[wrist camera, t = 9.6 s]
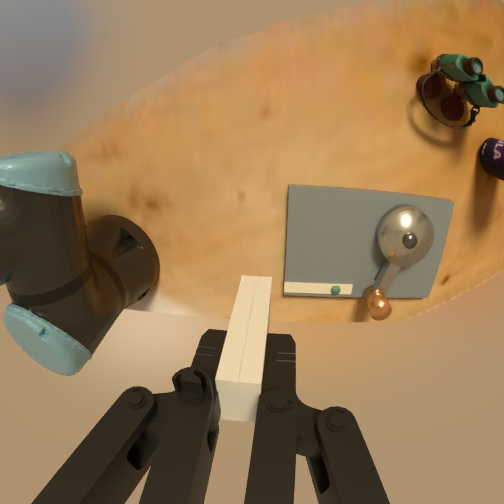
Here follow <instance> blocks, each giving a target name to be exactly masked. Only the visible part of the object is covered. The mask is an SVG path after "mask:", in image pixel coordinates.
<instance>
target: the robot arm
mask: <svg viewBox="0 0 504 504" xmlns="http://www.w3.org/2000/svg"><path fill="white" fill-rule="evenodd" d="M81 195H82V189H81V188H80V185H79V179H78V172H77V164H76V161H75V159H74V157H73V156H72V155H71V154H69V153H68V152H65V151H37V152H26V153H17V154H10V155H5V156H0V285H3V284H6V286H7V289H8V291H9V294H10V296H11V299H12V303H11V304H9V305H8V306H7V307H6V310H5V312H4V323H5V326H6V328H7V329H8V331H9V333H10V334H11V336H12V337H13V339H14V340H15V341H16V342H17V343H18V345H19V346H20V347H21V348H22V349H23V350H24V351H25V352H26V353H27V354H28V355H29V356H30V357H32V358H33V359H34V360H35V361H37V362H38V363H39V364H41V365H42V366H44V367H45V368H47V369H49V370H51V371H53V372H55V373H58V374H61V375H66V376H70V375H74V374H76V373H78V372H79V371H80V370H81V369H82V367H83V366H84V365H85V363H86V362H87V361H88V360H90V359H91V358H92V355H93V353H94V352H95V350H96V348H97V347H98V345H99V344H100V342H101V341H102V339H103V338H104V336H105V335H106V333H107V332H108V330H109V329H110V327H111V326H112V325H113V323H114V322H115V320H116V319H117V317H118V316H119V314H120V313H121V312H122V310H123V309H125V308H127V307H128V306H130V305H132V304H134V303H135V302H137V301H139V300H141V299H142V298H144V297H145V296H146V295H147V294H148V293H149V292H150V291H151V289H152V288H153V286H154V285H155V283H156V281H157V279H158V276H159V259H158V255H157V252H156V250H155V247H154V245H153V243H152V242H151V240H150V239H149V237H148V236H147V235H146V233H145V232H144V231H143V230H142V229H141V228H140V227H139V226H137V225H136V224H135V223H133V222H132V221H130V220H128V219H126V218H123V217H120V216H116V215H106V216H102V217H100V218H98V219H96V220H95V221H93V222H92V223H90V224H89V225H88V226H87V227H86V228H85V222H84V216H83V209H82V201H81ZM271 286H272V277H259V276H242V278H241V281H240V285H239V289H238V293H237V297H236V300H235V304H234V308H233V312H232V316H231V320H230V324H229V328H228V331H224V330H213V329H208V330H207V331H206V333H204V334H203V335H202V337H201V339H200V342H199V345H198V348H197V350H196V354H195V356H194V359H193V362H192V365H191V367H187V368H184V369H181V370H179V371H178V372H176V373H175V374H174V376H173V377H172V381H173V384H174V387H175V391H173V392H169V393H159V394H152V393H151V391H149V390H148V389H147V388H144V387H140V386H139V387H131V388H129V389H127V390H126V391H125V392H123V393H122V394H121V396H120V397H119V398H118V399H117V400H116V402H115V403H114V404H113V405H112V406H111V408H110V409H109V410H108V411H107V413H105V415H104V416H103V417H102V418H101V419H100V421H99V422H98V423H97V424H96V425H95V427H94V428H93V429H92V430H91V431H90V433H89V434H88V435H87V437H86V438H85V439H84V440H83V441H82V442H81V444H80V445H79V446H78V447H77V448H76V450H75V451H74V452H73V453H72V454H71V456H70V457H69V458H68V459H67V461H66V462H65V463H64V464H63V465H62V467H61V468H60V469H59V470H58V471H57V473H56V474H55V475H54V476H53V478H52V479H51V480H50V481H49V483H48V484H47V485H46V486H45V487H44V489H43V490H42V491H41V492H40V494H39V495H38V496H37V497H36V499H35V500H34V501H33V502H32V503H31V504H125V502H126V501H127V499H128V498H129V496H130V495H131V494H132V492H133V491H134V489H135V488H136V486H137V485H138V483H139V482H140V480H141V479H142V477H143V476H144V475H145V473H146V472H147V470H148V469H149V467H150V466H151V468H150V470H149V473H148V476H147V480H146V483H145V486H144V489H143V492H142V495H141V498H140V502H139V504H204V500H205V495H206V490H207V485H208V481H209V476H210V472H211V467H212V462H213V457H214V452H215V448H216V443H217V438H218V433H219V425H218V422H219V418H220V415H221V419H227V420H235V421H244V422H255V430H254V437H253V445H252V452H251V459H250V467H249V473H248V480H247V487H246V494H245V501H244V504H293V503H294V486H295V464H296V454H299V455H302V456H306V460H307V463H308V467H309V471H310V474H311V477H312V481H313V485H314V488H315V492H316V495H317V499H318V502H319V504H390V503H389V500H388V498H387V495H386V493H385V490H384V488H383V485H382V483H381V480H380V478H379V475H378V473H377V470H376V467H375V465H374V462H373V460H372V457H371V455H370V453H369V450H368V448H367V446H366V443H365V440H364V438H363V436H362V433H361V431H360V429H359V426H358V424H357V422H356V419H355V417H354V416H353V414H352V413H351V412H350V411H349V410H347V409H346V408H342V407H339V406H337V407H329V408H327V409H325V410H323V411H322V410H318V409H315V408H312V407H309V406H307V405H305V404H304V403H302V402H301V401H300V400H299V399H298V397H297V395H296V363H295V362H296V355H295V353H296V351H295V350H296V348H295V346H296V345H295V341H294V340H293V338H292V336H291V335H289V334H271V333H269V322H270V306H271Z"/></svg>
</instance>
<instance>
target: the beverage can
mask: <svg viewBox="0 0 504 504" xmlns="http://www.w3.org/2000/svg"><path fill="white" fill-rule="evenodd" d="M480 162H481V165H482V167H483V169H484V171H485V172H486V173H488V174H490V175H492V176H494V177H497V178H499V179H501V180H503V181H504V141H503V140H499V139H495V138H488V139H486V140H485V141H484V143H483V144H482V146H481V150H480Z"/></svg>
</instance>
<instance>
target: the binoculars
mask: <svg viewBox="0 0 504 504" xmlns="http://www.w3.org/2000/svg"><path fill="white" fill-rule="evenodd" d="M432 68H433V70H431V72H430V73H428V74H426V75H422V76H421V77H420V78H419V79H418V81H417V88H418V91H419V93H420V96H421V100H422V103H423V105H424V107H425V108H426V109H427V111H428V112H429V113H430V114H431V115H432V116H433V117H434V118H435V119H437V120H438V121H440V122H441V123H443V124H445V125H447V126H450V125H448V124H446V123H444V122H443V121H441V120H440V119H439V118H437V117H436V116H435V115H434V114H433V113H432V111H431V110H430V109H429V107H428V106H427V104H426V101H425V98H424V97H426V98H429V99H435V98H437V97H438V96H439V95H440V92H441V82H440V79H439V78H438V77H440V78H443V77H446V78H447V79H449V80H451V81H455V82H457V83H456V85H455V91H456V94H457V96H456V97H448V98H446V99H444V100H443V101H442V103H441V111H442V113H443V115H444V116H445V117H446V118H447V119H449V120H453V121H458V120H460V119H461V118H462V116H463V113H464V106H463V103H462V101H461V99H465V100H466V99H467V101H468V102H469V103H470V104H471V105H473V107H472V109H471V110H470V112H471V116H470V120H469V121H468V123H467V124H465V125H463V126H461V127H455V126H450V127H452V128H460V129H464V128H466V127H469V126H471V125H472V123H473V122H475V117H476V115H477V114H479V111H480V107H489V108H495V107H497V106H498V104H499V103H501V104H504V88H503V87H502V86H495V85H494V84H493V82H492V81H491V80H490V79H489V77H488V76H487V75H485V74H482V72H483V64H482V61H481V60H480V59H479V58H478V57H472V58H469V57H467V56H466V55H462V54H450V55H449V54H442V55H440V56H438V57H437V59H434V60H433V61H432ZM474 108H475V109H478V112H477V111H474V110H473V109H474Z"/></svg>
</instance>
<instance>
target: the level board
mask: <svg viewBox="0 0 504 504" xmlns="http://www.w3.org/2000/svg"><path fill="white" fill-rule="evenodd" d="M401 204H409V205H413V206H415V207H417V208H418V209H419V210H421V211H422V212H423V213H424V214H426V215H427V216H428V217H429V219H430V220H431V222H432V224H433V227H434V241H433V244H432V247H431V249H430V251H429V252H428V254H427V255H426V256H425V257H424V258H423V259H422V260H421V261H419V262H418V263H416V264H414V265H411V266H406V267H401V268H400V270H399V272H398V274H397V275H396V277H395V279H394V281H393V283H392V285H391V286H390V288H389V290H388V292H387V294H386V297H387V298H428V297H429V294H430V291H431V289H432V286H433V282H434V279H435V276H436V273H437V270H438V267H439V263H440V260H441V256H442V253H443V249H444V245H445V241H446V237H447V233H448V229H449V225H450V220H451V215H452V211H453V205H454V202H452V201H451V200H449V199H443V198H436V197H429V196H421V195H413V194H405V193H396V192H387V191H377V190H366V189H354V188H342V187H327V186H310V185H289V193H288V220H287V243H286V263H285V280H284V295H295V296H323V297H365V296H364V292H365V290H366V289H367V288H368V287H369V286H371V285H373V284H374V283H375V281H376V279H377V277H378V275H379V273H380V271H381V269H382V267H383V265H384V263H385V261H386V258H385V256H384V255H383V253H382V251H381V250H380V248H379V246H378V244H377V240H376V230H377V226H378V223H379V221H380V219H381V218H382V216H383V215H384V214H385V213H386V212H387V211H388V210H390V209H391V208H393V207H395V206H397V205H401Z"/></svg>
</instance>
